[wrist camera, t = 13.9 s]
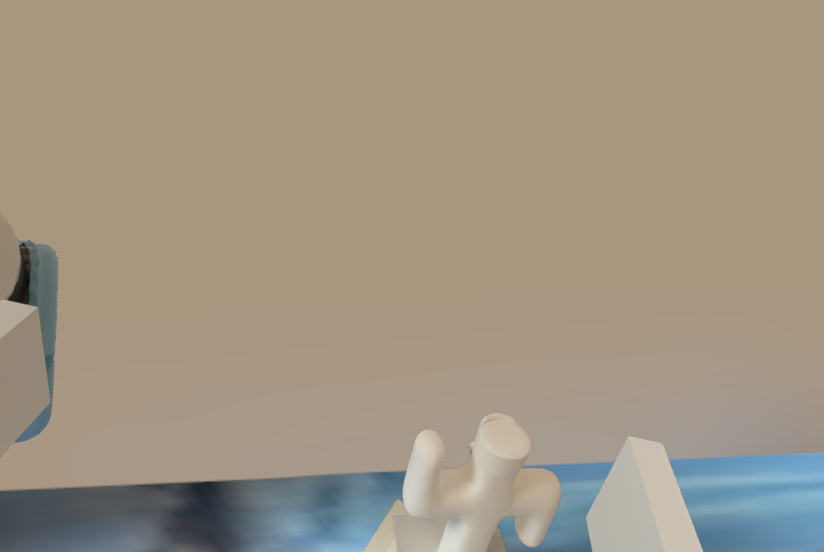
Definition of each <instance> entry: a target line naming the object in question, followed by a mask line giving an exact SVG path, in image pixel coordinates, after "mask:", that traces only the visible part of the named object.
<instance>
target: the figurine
mask: <svg viewBox="0 0 824 552" xmlns="http://www.w3.org/2000/svg"><path fill="white" fill-rule="evenodd" d="M531 447H532V444H531V439H530V437H529V435H528V434H527V432H526V431H525V430H524V429H523V428H522V427H520V426H519V425H517V424H516V422H515V419H514V418H512V417H510V416H507V415H503V414H490V415H487V416H486V417H484V418H483V419H482V421H481V424H480V426H479V429H478V432H477V435H476V436H475V441H473V442H471V443H470V445H469V450H470V453H471V456H470V458H469V460H468V461H467V463H465V464H464V465H463V466H462V467H460V468H456V469H443V466H444V463H445V458H446V447H445V443H444V441H443V439H442V437H441V436H440V435H439V433H437V432H436V431H434V430H430V429H428V430H423V431H422V432H420V433H419V435H418V436H417V438H416V440H415V443H414V447H413V450H412V454H411V457H410V461H409V464H408V468H407V472H406V475H405V480H404V485H403V502H404V506H405V508H406V510H407V512H408V513H409V514H410V515H391V518H392V524H393V530H394V535H395V541H396V547H397V552H507V551H506V548H505V545H504V542H503V539H502V536H501V533H500V531H499V528H498V525H497V524H498V523H499V522H500V521H501V520H502V519H503V518H504V517H506V516H516V518H515V530H516V533H517V535H518V537H519V539H520V540H521V542H522V543H523V544H525V545H526V546H528V547H536V546H538V545H539V544H540V543H541V542H542V540H543V538H544V536H545V534H546V532H547V530H548V528H549V526H550V524H551V522H552V520H553V518H554V515H555V513H556V511H557V509H558V506H559V503H560V498H561V486H560V482H559V480H558V478H557V476H556V475H555V474H554V473H553V472H551V471H549V470H547V469H542V468H522V467H523V465H524V463H525V461H526V459H527V457H528V455H529V453H530V451H531Z"/></svg>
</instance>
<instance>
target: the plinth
mask: <svg viewBox="0 0 824 552" xmlns="http://www.w3.org/2000/svg"><path fill="white" fill-rule="evenodd" d="M391 515H410V514H409V513H408V512H407V510H406V508H405V506H404V502H402V501H400V500H398V499H397V500H396V501H395V503H394V504H393V506H392V507H391V509H390V511H389V512H388V514H387V515H386V517H385V518H384V520H383V521H382V523H381V525H380V526H379V528H378V529H377V531H376V532H375V534H374V535H373V537H372V538H371V540H370V542H369V543H368V545H367V546H366V548H365V549H364V551H363V552H397V547H396V541H395V535H394V530H393V524H392V518H391Z"/></svg>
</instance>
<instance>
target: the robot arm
mask: <svg viewBox="0 0 824 552" xmlns="http://www.w3.org/2000/svg"><path fill="white" fill-rule="evenodd" d="M57 291H58V258H57V255H56V252H55V251H54V250H53V249H52V248H51V247H50V246H48V245H44V244H34V243H33V242H31V241H29V240H28V241H17V238H16V236H15V234H14V231H13V229H12V227H11V226H10V224H9V223H8V221H7V220H6V219H5V218H4V216H3V215H2V214H0V457H1V456H2V455H3V454H4V453H5V452H6V450H7V449H8V448H9V447H10V446H11V445H12V444H13V443H15V442H22V441H25V440H28V439H30V438H33V437H34V436H36V435H38V434H39V433H40V432H41V431H42V430H43V429H44V428H45V427H46V425H47V423H48V422H49V419H50V416H51V408H52V398H53V381H54V380H53V379H54V355H55V340H56V321H57ZM586 521H587V526H588V531H589V536H590V541H591V546H592V552H703V550H702V547H701V544H700V542H699V539H698V536H697V534H696V531H695V528H694V526H693V523H692V521H691V518H690V515H689V513H688V510H687V507H686V505H685V502H684V499H683V497H682V494H681V491H680V489H679V486H678V483H677V481H676V478H675V475H674V473H673V470H672V468H671V465H670V462H669V460H668V457H667V455H666V452H665V449H664V447H663V444H662V443H658V442H654V441H649V440H644V439H640V438H635V437H631V436H629V437H628V438H627V440H626V442H625V444H624V446H623V448H622V450H621V452H620V454H619V455H618V457H617V459H616V461H615V463H614V465H613V467H612V469H611V471H610V472H609V474H608V476H607V478H606V480H605V482H604V484H603V486H602V488H601V490H600V491H599V493H598V495H597V497H596V499H595V501H594V503H593V505H592V507H591V509H590V510H589V512H588V514H587V516H586Z"/></svg>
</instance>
